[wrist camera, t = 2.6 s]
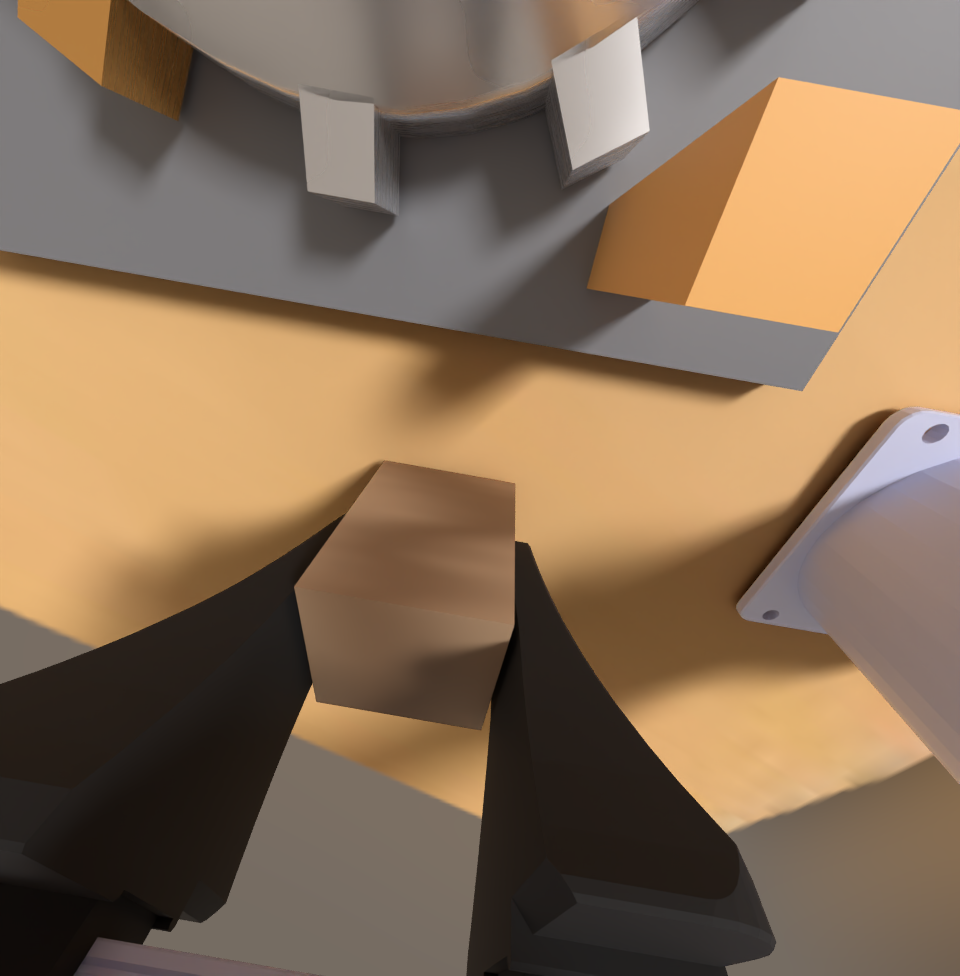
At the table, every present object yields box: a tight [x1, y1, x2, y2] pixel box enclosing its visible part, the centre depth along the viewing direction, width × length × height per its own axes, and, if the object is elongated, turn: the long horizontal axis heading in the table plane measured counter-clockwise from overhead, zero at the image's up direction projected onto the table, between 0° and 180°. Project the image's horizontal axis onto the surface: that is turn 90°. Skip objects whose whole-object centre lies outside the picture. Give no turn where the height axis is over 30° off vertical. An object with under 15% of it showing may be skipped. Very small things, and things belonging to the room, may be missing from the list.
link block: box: [294, 461, 515, 730], centre depth 9 cm, size 4×4×5 cm
